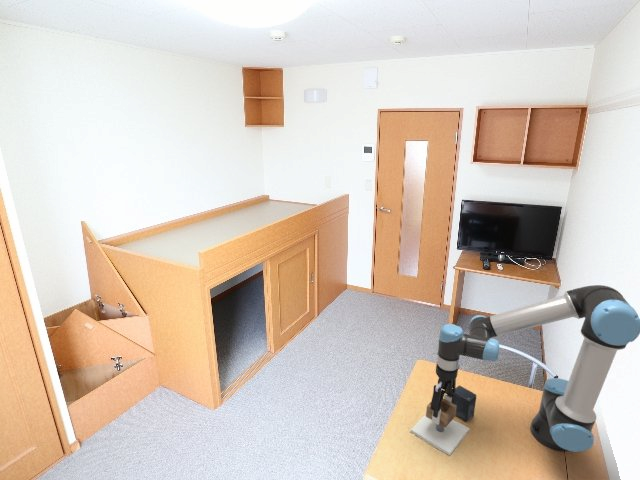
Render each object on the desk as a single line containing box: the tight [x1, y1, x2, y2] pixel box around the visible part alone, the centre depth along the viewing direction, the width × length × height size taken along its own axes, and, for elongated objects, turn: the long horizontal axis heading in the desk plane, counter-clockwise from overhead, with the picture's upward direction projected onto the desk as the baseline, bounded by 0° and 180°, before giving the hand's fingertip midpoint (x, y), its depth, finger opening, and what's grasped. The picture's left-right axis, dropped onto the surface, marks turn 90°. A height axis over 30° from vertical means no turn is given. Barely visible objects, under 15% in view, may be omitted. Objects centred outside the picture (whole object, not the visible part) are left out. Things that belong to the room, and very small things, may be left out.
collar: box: [425, 398, 457, 428], centre depth 146 cm, size 8×8×5 cm
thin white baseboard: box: [410, 413, 470, 457], centre depth 148 cm, size 16×16×8 cm
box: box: [451, 385, 478, 423], centre depth 156 cm, size 8×6×11 cm
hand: (441, 416), depth 147 cm, fingers closed on collar, 8 cm apart
